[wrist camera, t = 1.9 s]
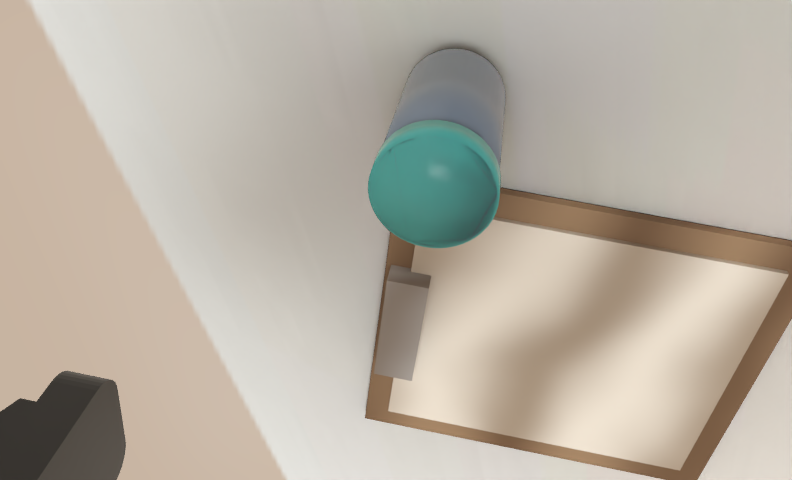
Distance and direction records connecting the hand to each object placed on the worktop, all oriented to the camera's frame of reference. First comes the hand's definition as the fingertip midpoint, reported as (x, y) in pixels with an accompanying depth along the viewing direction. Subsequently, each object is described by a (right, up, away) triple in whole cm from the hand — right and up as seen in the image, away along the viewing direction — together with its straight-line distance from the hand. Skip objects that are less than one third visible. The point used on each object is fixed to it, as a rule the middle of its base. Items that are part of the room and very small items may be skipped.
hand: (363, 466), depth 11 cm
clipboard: (+7, -1, +18) cm, 19 cm away
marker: (+3, +9, +13) cm, 15 cm away
